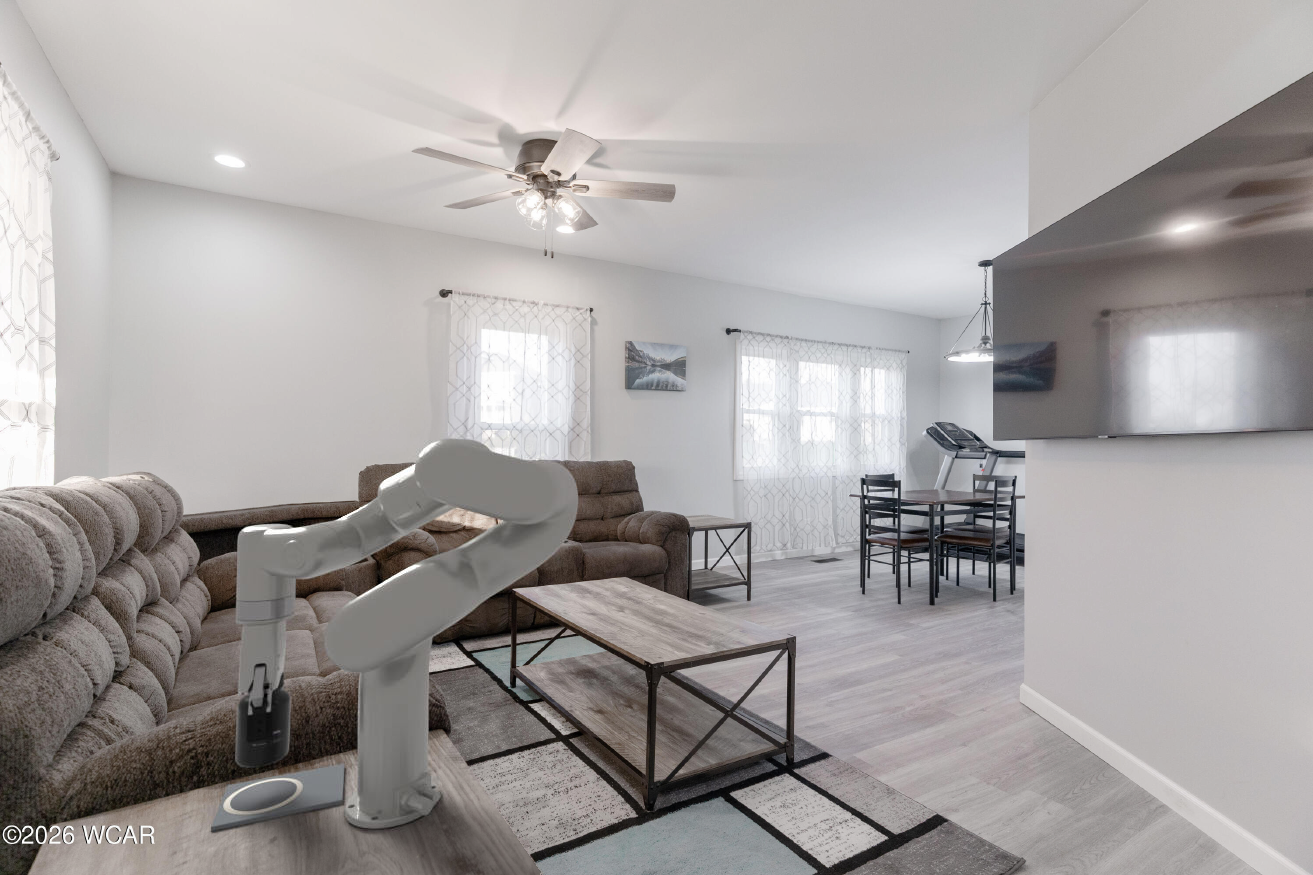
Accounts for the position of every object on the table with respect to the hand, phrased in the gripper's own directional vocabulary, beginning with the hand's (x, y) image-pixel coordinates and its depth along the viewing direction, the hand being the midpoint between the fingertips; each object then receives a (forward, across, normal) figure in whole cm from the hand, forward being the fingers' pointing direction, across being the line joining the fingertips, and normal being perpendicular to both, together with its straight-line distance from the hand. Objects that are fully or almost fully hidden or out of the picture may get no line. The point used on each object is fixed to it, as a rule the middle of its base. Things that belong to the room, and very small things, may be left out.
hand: (263, 728), depth 94 cm
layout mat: (+10, 0, +3) cm, 11 cm away
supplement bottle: (+4, 0, 0) cm, 4 cm away
